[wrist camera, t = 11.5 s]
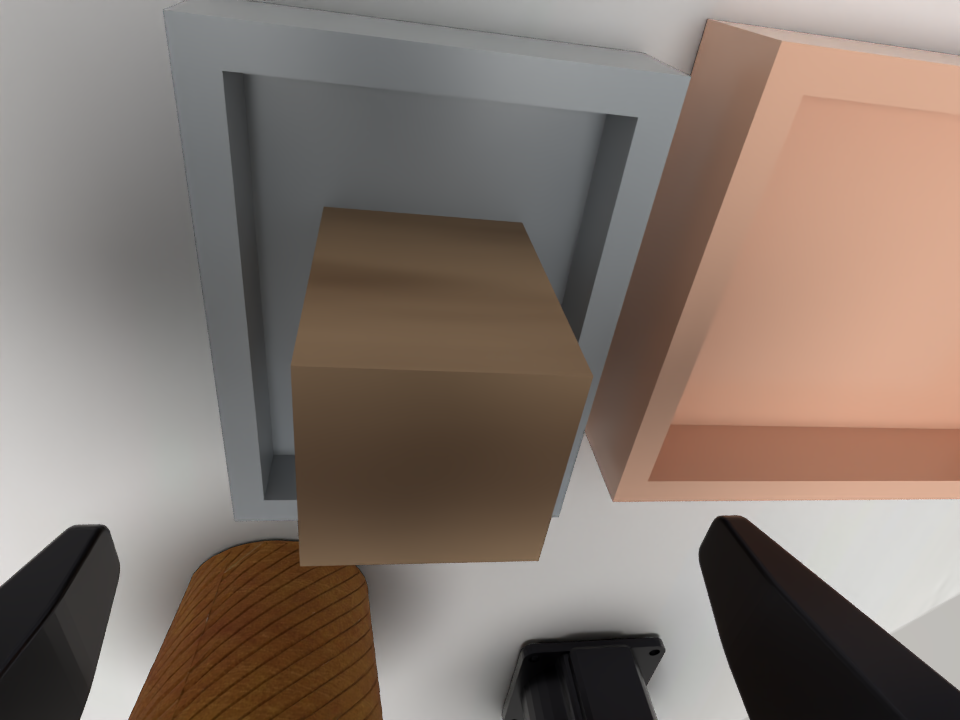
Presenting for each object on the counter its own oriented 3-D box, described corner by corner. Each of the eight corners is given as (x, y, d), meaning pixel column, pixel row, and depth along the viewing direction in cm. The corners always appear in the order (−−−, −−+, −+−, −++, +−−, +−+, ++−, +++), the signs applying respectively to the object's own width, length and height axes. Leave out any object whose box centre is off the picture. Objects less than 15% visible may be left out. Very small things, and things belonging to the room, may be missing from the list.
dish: (969, 435, 22) (1040, 498, 20) (584, 429, 20) (612, 501, 17) (1233, 95, 16) (1387, 126, 13) (707, 19, 13) (782, 41, 11)
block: (493, 377, 17) (538, 560, 12) (325, 371, 16) (300, 566, 11) (522, 222, 14) (593, 376, 9) (323, 206, 13) (290, 365, 9)
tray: (540, 457, 20) (558, 517, 18) (251, 455, 18) (234, 521, 16) (644, 53, 13) (691, 76, 11) (200, -6, 12) (162, 9, 10)
